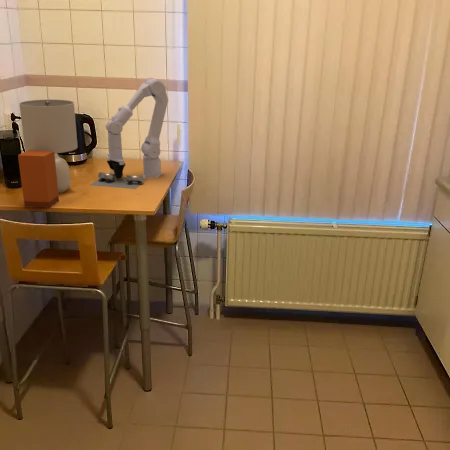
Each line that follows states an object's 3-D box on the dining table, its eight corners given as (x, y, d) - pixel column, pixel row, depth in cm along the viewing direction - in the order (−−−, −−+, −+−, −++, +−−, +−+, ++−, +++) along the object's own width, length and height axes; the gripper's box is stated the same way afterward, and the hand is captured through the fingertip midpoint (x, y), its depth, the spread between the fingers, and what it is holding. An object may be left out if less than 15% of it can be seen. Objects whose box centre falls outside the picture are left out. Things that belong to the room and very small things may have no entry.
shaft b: (126, 186, 216) (126, 176, 215) (127, 183, 220) (127, 174, 218) (142, 186, 217) (142, 176, 215) (143, 183, 220) (143, 174, 219)
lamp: (28, 199, 196) (16, 105, 183) (32, 185, 214) (21, 98, 201) (81, 196, 201) (73, 104, 188) (81, 182, 219) (73, 97, 206)
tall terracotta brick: (59, 200, 196) (54, 150, 189) (49, 208, 188) (44, 156, 181) (35, 198, 197) (29, 149, 190) (24, 206, 189) (17, 155, 181)
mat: (104, 176, 229) (104, 175, 229) (147, 180, 226) (147, 178, 226) (89, 186, 215) (89, 185, 214) (135, 190, 211) (135, 188, 211)
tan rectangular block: (110, 178, 225) (110, 168, 223) (119, 176, 227) (118, 167, 226) (114, 180, 222) (113, 170, 220) (123, 179, 224) (122, 169, 222)
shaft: (115, 182, 221) (115, 173, 219) (110, 184, 217) (109, 175, 216) (103, 180, 224) (102, 171, 222) (97, 182, 220) (96, 173, 219)
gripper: (100, 145, 223) (102, 174, 228) (112, 151, 212) (114, 182, 217) (115, 143, 227) (116, 172, 232) (128, 149, 215) (129, 179, 220)
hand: (116, 176), depth 224 cm, fingers closed on tan rectangular block, 4 cm apart
